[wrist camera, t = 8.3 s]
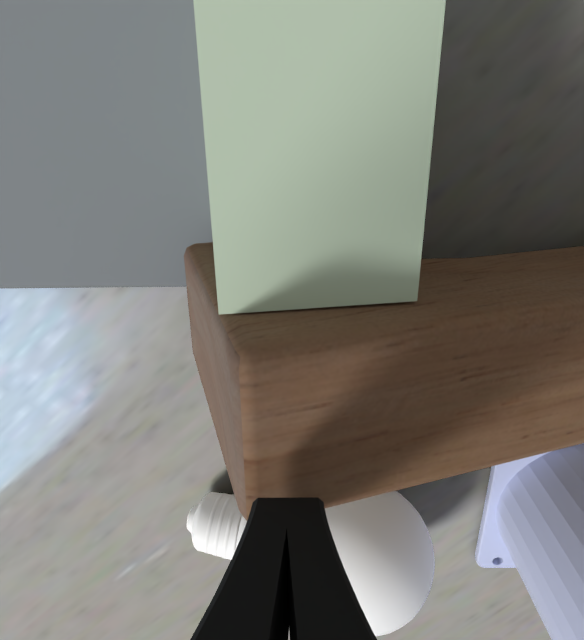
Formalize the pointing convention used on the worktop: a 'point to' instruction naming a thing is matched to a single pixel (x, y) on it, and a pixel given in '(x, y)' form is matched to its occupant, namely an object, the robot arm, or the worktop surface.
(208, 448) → the worktop surface
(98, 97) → the mat
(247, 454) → the wooden block
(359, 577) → the lightbulb
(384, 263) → the sage block
